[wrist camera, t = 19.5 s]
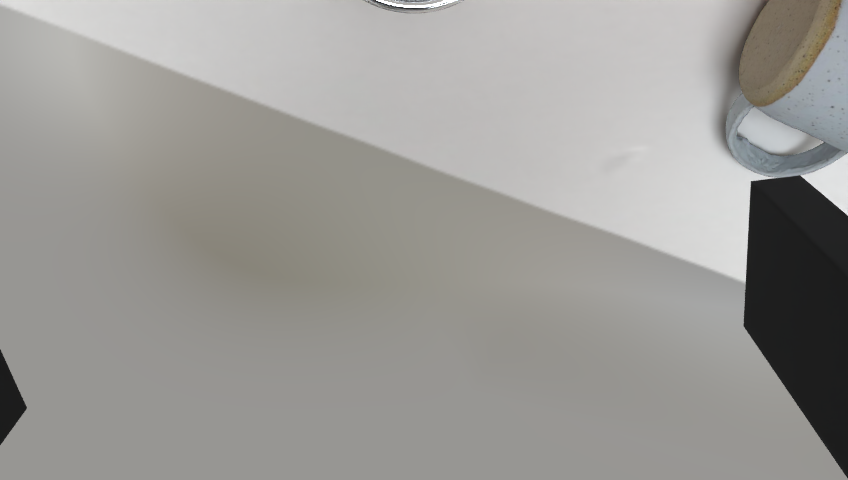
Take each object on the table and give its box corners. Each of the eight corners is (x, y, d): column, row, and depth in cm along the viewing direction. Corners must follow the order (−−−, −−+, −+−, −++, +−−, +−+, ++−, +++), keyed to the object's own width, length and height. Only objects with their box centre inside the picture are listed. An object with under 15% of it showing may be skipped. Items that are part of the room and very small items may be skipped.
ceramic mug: (787, -59, 37) (864, -34, 30) (932, 1, 38) (1037, 38, 32) (679, 137, 42) (725, 197, 35) (811, 185, 43) (880, 252, 36)
